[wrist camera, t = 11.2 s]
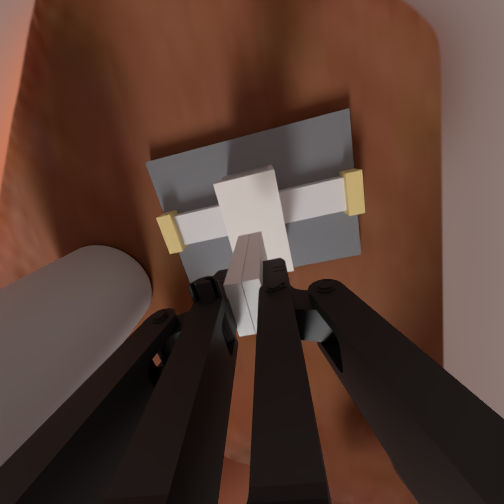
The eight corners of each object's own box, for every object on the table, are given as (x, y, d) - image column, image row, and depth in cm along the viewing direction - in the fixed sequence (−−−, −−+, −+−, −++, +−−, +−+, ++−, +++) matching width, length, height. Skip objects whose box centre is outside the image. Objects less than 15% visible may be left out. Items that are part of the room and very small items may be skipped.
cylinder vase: (155, 325, 37) (-22, 606, 14) (73, 314, 37) (-238, 579, 14) (152, 249, 33) (-118, 486, 10) (59, 237, 33) (-442, 444, 9)
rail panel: (356, 249, 31) (368, 262, 28) (194, 281, 34) (186, 295, 31) (344, 110, 26) (357, 103, 22) (150, 161, 28) (134, 163, 25)
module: (286, 241, 30) (293, 270, 22) (246, 249, 30) (240, 280, 23) (270, 162, 26) (273, 166, 19) (226, 173, 27) (212, 181, 20)
